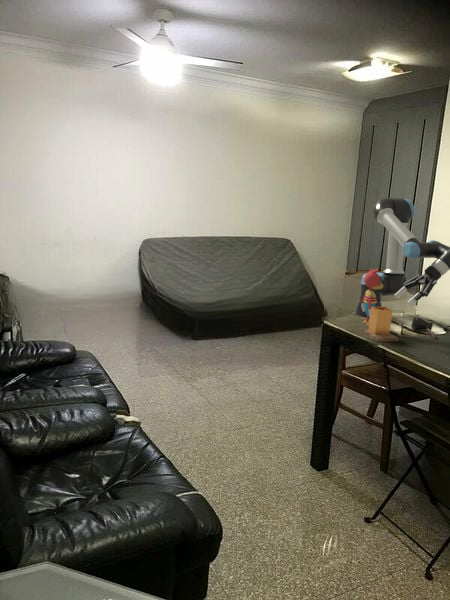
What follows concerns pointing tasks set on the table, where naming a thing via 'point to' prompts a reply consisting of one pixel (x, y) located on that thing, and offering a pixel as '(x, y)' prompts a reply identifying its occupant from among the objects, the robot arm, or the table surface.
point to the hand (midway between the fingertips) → (402, 300)
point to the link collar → (380, 320)
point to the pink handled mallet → (422, 325)
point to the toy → (371, 292)
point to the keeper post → (381, 336)
